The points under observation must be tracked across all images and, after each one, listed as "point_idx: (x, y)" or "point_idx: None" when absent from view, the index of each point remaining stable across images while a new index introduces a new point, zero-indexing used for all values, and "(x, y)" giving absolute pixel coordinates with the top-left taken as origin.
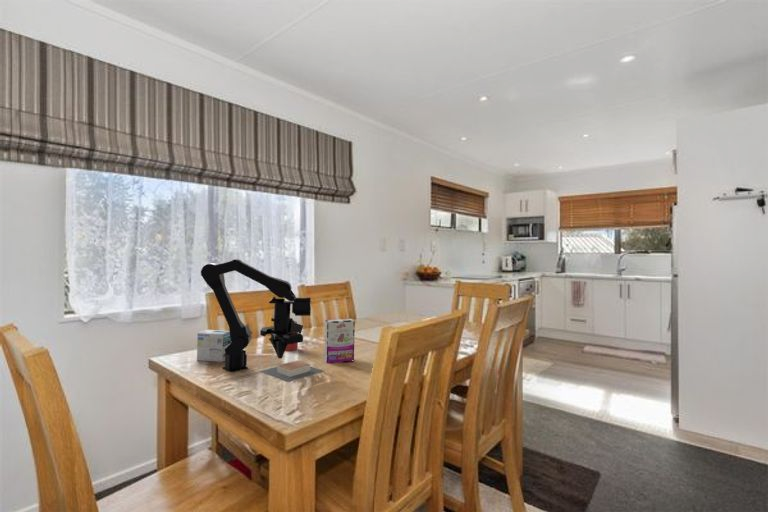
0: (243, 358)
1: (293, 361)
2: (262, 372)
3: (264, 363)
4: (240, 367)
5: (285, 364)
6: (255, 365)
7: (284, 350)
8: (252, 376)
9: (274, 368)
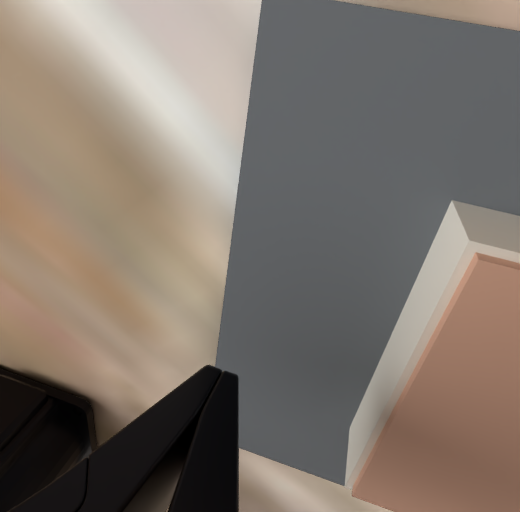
0: (14, 487)
1: (444, 344)
2: (246, 449)
3: (33, 244)
4: (77, 451)
5: (415, 465)
6: (44, 318)
7: (237, 503)
8: (245, 496)
9: (246, 354)
